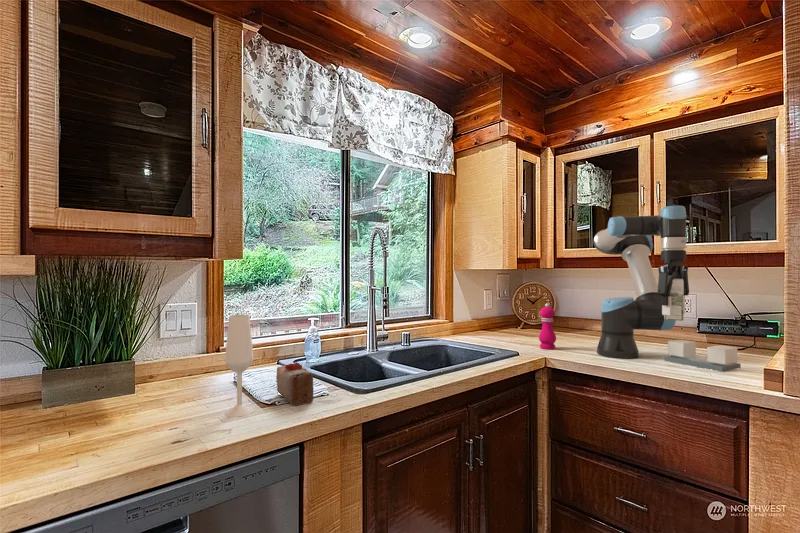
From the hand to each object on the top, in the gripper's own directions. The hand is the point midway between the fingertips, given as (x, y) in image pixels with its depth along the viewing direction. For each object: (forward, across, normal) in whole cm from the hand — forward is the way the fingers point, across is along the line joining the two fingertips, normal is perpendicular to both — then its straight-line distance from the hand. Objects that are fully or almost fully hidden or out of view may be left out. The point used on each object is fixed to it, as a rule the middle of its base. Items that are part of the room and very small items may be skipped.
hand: (673, 314), depth 146 cm
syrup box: (+2, 0, 0) cm, 2 cm away
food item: (+19, -127, +28) cm, 132 cm away
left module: (+17, +15, +6) cm, 23 cm away
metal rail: (+18, +15, -1) cm, 23 cm away
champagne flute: (+19, -142, +23) cm, 145 cm away
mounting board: (+19, +15, -1) cm, 24 cm away
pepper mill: (+19, -12, +47) cm, 52 cm away
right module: (+17, +15, -8) cm, 24 cm away
